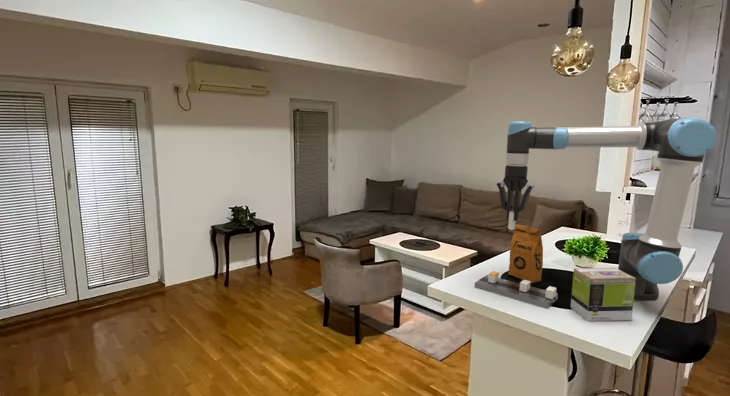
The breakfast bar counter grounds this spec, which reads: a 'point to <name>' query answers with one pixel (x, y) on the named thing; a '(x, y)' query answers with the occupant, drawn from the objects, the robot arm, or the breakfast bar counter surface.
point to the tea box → (602, 294)
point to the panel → (516, 291)
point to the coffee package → (526, 254)
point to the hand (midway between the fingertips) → (511, 228)
